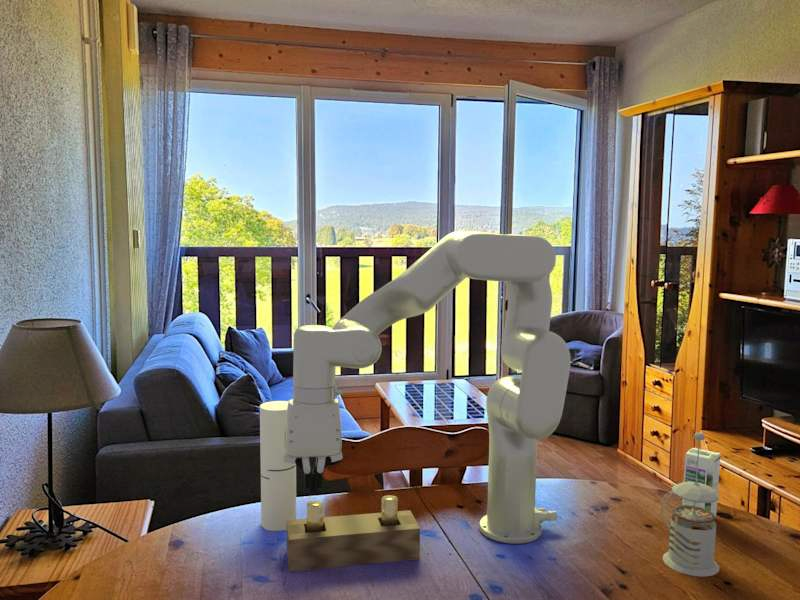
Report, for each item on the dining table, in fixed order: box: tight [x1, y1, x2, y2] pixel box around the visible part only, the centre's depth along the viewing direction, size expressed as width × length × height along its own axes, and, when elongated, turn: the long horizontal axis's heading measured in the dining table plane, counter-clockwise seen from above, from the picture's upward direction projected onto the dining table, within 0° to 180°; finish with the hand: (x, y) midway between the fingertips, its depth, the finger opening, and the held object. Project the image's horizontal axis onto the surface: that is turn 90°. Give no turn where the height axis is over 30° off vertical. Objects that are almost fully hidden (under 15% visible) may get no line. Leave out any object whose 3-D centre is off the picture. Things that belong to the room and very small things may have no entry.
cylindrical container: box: [259, 400, 297, 532], centre depth 140 cm, size 7×7×25 cm
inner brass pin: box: [380, 494, 399, 526], centre depth 130 cm, size 3×3×6 cm
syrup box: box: [681, 447, 722, 526], centre depth 146 cm, size 6×6×14 cm
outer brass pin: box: [306, 500, 324, 533], centre depth 127 cm, size 3×3×6 cm
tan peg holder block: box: [286, 509, 421, 573], centre depth 129 cm, size 24×8×6 cm, turn 102°
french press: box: [660, 431, 720, 577], centre depth 127 cm, size 10×12×25 cm
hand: (312, 491), depth 126 cm, fingers closed
